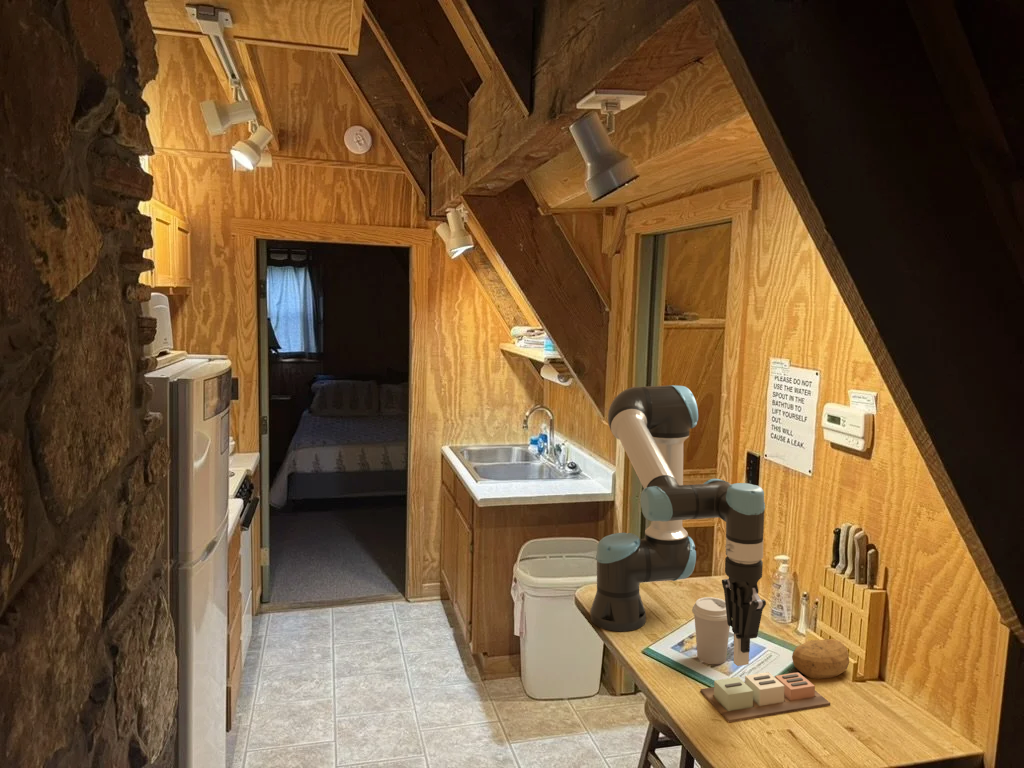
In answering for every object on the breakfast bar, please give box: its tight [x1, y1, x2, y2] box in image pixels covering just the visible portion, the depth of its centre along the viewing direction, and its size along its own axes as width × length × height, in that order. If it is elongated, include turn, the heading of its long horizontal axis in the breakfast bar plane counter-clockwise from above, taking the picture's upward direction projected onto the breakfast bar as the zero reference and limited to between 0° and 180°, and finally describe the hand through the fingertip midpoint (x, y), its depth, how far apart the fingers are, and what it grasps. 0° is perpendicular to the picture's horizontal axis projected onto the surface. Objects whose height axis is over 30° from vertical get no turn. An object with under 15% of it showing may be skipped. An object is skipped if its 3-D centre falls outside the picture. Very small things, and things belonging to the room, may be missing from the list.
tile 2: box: [744, 672, 784, 706], centre depth 154 cm, size 6×6×4 cm
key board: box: [699, 681, 831, 723], centre depth 154 cm, size 12×24×2 cm, turn 103°
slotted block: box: [713, 676, 753, 711], centre depth 152 cm, size 6×6×4 cm
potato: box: [791, 638, 850, 679], centre depth 165 cm, size 10×14×8 cm
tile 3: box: [774, 671, 816, 701], centre depth 156 cm, size 6×6×4 cm
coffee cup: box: [691, 596, 731, 665], centre depth 172 cm, size 10×10×15 cm
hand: (741, 663), depth 152 cm, fingers closed
